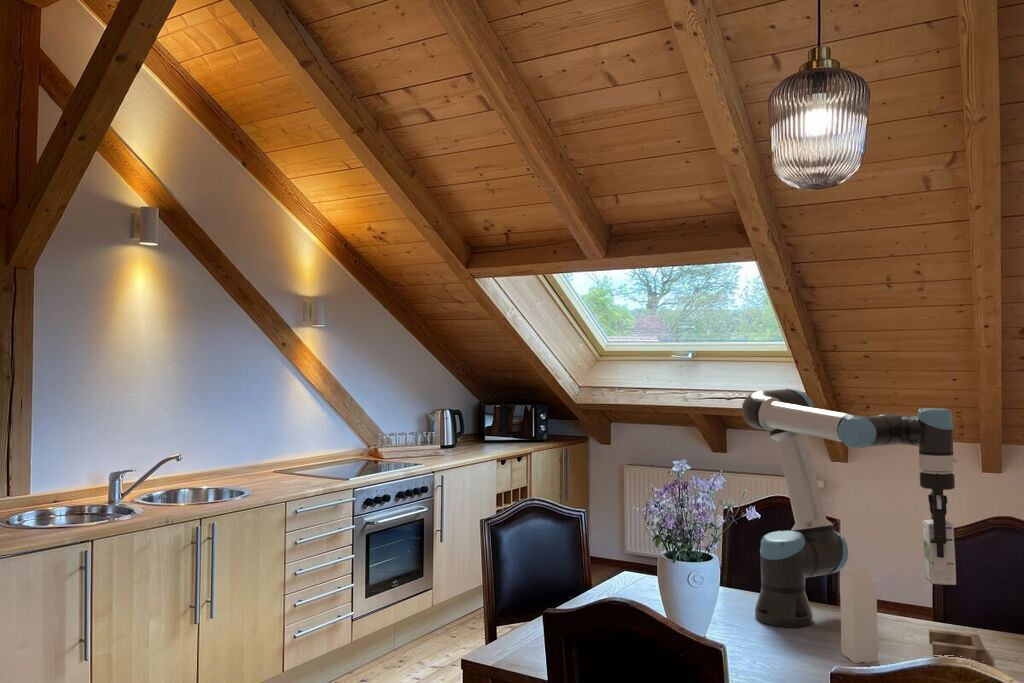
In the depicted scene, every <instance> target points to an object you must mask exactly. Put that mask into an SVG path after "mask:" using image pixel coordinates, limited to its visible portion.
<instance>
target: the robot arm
mask: <svg viewBox="0 0 1024 683" xmlns="http://www.w3.org/2000/svg"><path fill="white" fill-rule="evenodd" d="M741 414H742V417H743V420H744V421H745V422H746V423H747V425H749V426H750V427H751V428H754V429H757V430H764V431H768V432H769V436H770V438H771V440H774V441H776V444H777V447H778V453H779V456H780V457H779V458H780V460H781V461H780V462H781V464H782V466H781V467H782V470H783V473H784V474H783V475H784V478H785V483H786V484H785V485H786V487H787V491H788V492H787V493H788V496H789V497H788V498H789V500H790V505H791V510H792V514H793V518H794V525H793V527H792V528H791V530H777V531H771V532H768V533H766V534H764V535H763V536H762V538H761V540H760V549H759V553H760V554H759V555H760V582H761V583H760V585H761V587H760V591H759V594H758V598H757V602H756V604H755V608H754V611H755V612H754V613H755V614H754V616H755V618H756V620H757V621H759V622H761V623H764V624H767V625H769V626H770V625H771V626H774V627H781V628H803V627H808V626H810V625H812V624H813V622H814V620H813V618H814V617H813V611H812V607H811V605H810V601H809V600H808V596H807V593H806V579H808V578H813V577H818V576H819V577H820V576H830V575H832V574H835V573H837V572H839V571H841V570H842V569H843V568H844V566H845V565H846V564H847V562H848V558H849V547H848V543H847V541H846V540H845V538H844V537H843V536H842V535H841V533H840V532H837V531H836V530H835V526H834V523H832V522H831V521H830V520H828V519H827V517H826V513H825V512H826V511H825V508H824V504H823V499H822V496H821V491H820V487H819V483H818V478H817V474H816V470H815V466H814V461H813V457H812V454H811V449H810V444H809V440H808V436H811V437H815V438H816V437H817V438H822V439H826V440H829V441H835V442H841V443H843V444H844V445H845V446H846V447H848V448H852V449H853V448H855V449H856V448H857V449H863V448H868V447H869V448H871V447H881V446H882V447H883V446H897V445H901V446H915V447H916V446H917V447H918V469H919V470H920V473H919V486H920V487H921V488H923V489H926V490H929V489H930V490H931V492H930V494H928V495H927V501H928V504H929V512H930V516H931V517H930V518H931V519H933V527H934V540H931V543H933V550H934V570H936V571H947V552H946V542H947V539H946V521H947V520H946V515H947V512H948V511H947V504H948V496H947V495H944V491H945V490H946V491H949V490H953V489H955V485H956V481H955V474H954V473H953V472H954V471H955V464H954V463H957V461H958V460H957V459H956V458H954V428H955V427H954V424H953V414H952V411H951V410H950V409H948V408H939V407H938V408H937V407H936V408H930V407H928V408H927V407H926V408H919V409H918V411H917V415H908V414H907V415H905V414H894V413H887V414H886V413H885V414H884V413H883V414H879V415H874V416H867V415H866V416H865V415H858V414H851V413H845V412H841V411H835V410H828V409H823V408H818V407H815V406H814V403H813V401H812V399H811V398H810V397H809V396H808V395H807V394H806V393H805V392H803V391H801V390H798V389H791V388H785V389H784V388H783V389H767V390H766V389H761V390H757V391H756V390H755V391H753V392H751V393H750V394H749V395H747V396H746V398H745V399H744V400H743V402H742V406H741ZM931 519H930V520H931ZM945 520H946V521H945Z"/></svg>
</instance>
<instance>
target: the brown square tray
mask: <svg viewBox="0 0 1024 683" xmlns="http://www.w3.org/2000/svg"><path fill="white" fill-rule="evenodd" d="M928 641H929V642H928V643H929V644H930V643H932V644H931V645H932V656H933V655H942V656H944V655H954V656H948V657H959V658H966V659H969V658H970V659H971V660H975V661H979V662H978V663H980V662H982V661H985V662H986V663H987V650H986V648H985V645H984V643H983V642H982V641H983V640H982V639H981V636H980V635H979V634H977V633H974V634H973V633H967V632H958V631H948V630H940V629H939V630H938V629H931V628H929V629H928ZM960 656H962V657H960ZM933 658H939V657H938V656H933ZM981 664H985V663H984V662H982V663H981Z"/></svg>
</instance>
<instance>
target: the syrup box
mask: <svg viewBox="0 0 1024 683" xmlns="http://www.w3.org/2000/svg"><path fill="white" fill-rule="evenodd" d="M945 521H946V539H947V542H946V552H947V571H936V570H934V550H933V543H931V540H934V527H933V519H923V520H922V531H923V532H922V533H923V555H924V556H923V557H924V558H923V560H924V577H925V579H926V580H927V581H928V582H929V583H931V584H933V585H945V586H946V585H947V586H948V585H949V586H950V585H951V586H952V585H953V586H956V585H957V570H956V568H957V567H956V550H955V549H956V548H955V530H954V524H952V522H950V521H949V520H946V519H945Z"/></svg>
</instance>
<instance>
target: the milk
mask: <svg viewBox="0 0 1024 683" xmlns="http://www.w3.org/2000/svg"><path fill="white" fill-rule="evenodd" d="M839 592H840V596H839V597H840V640H841V642H840V644H841V648H840V649H841V650H840V651H841V655H842V654H843V655H842V656H844V655H845V656H846V657H845V656H844V657H845V658H847V657H848V658H850V659H851V660H852V661H851V660H850V659H849V660H850V661H851V662H853V663H854V662H855V663H854V664H860V662H865V663H878V662H879V648H878V647H879V646H878V643H879V642H878V638H879V637H878V602H877V601H878V598H877V596H878V595H877V593H878V592H877V581H876V580H875V577H874V576H873V575H872V573H871V572H870V566H869V565H867V564H866V565H851V566H850V565H848V566H847V565H846V567H845V573H843V574H841V575H840V576H839ZM848 658H847V659H848Z"/></svg>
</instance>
